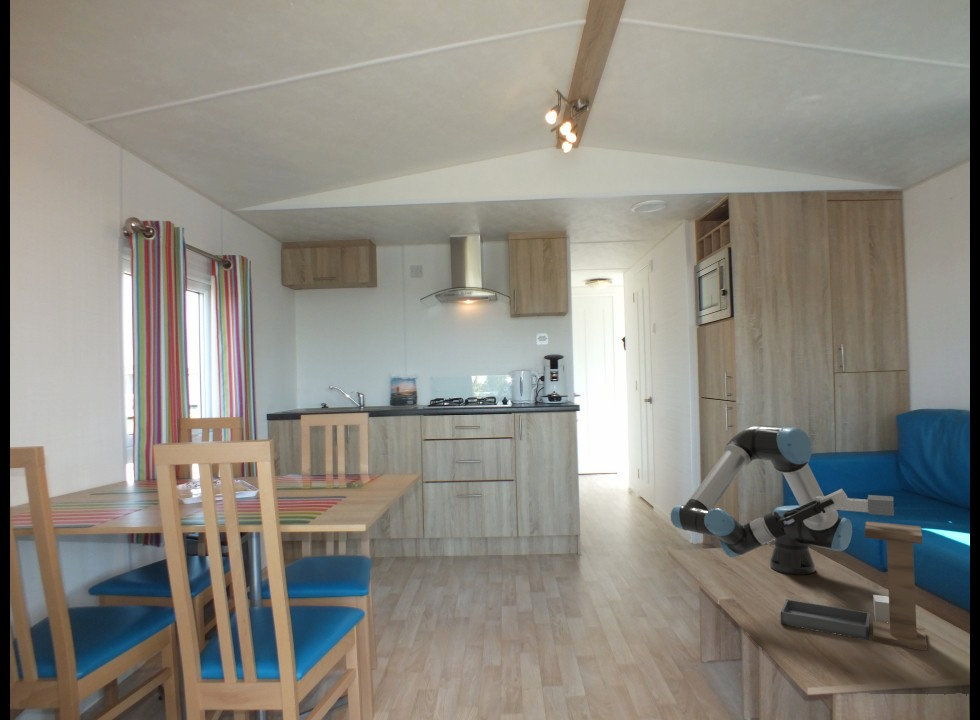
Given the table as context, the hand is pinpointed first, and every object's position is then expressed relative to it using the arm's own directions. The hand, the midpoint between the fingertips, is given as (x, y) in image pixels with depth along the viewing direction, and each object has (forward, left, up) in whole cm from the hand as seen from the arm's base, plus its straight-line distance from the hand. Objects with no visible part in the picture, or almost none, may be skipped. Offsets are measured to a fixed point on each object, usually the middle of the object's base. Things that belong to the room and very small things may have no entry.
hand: (844, 494), depth 177 cm
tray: (0, -6, -38) cm, 39 cm away
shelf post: (0, +11, -38) cm, 40 cm away
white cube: (-13, +9, -39) cm, 42 cm away
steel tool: (0, +2, -4) cm, 5 cm away
